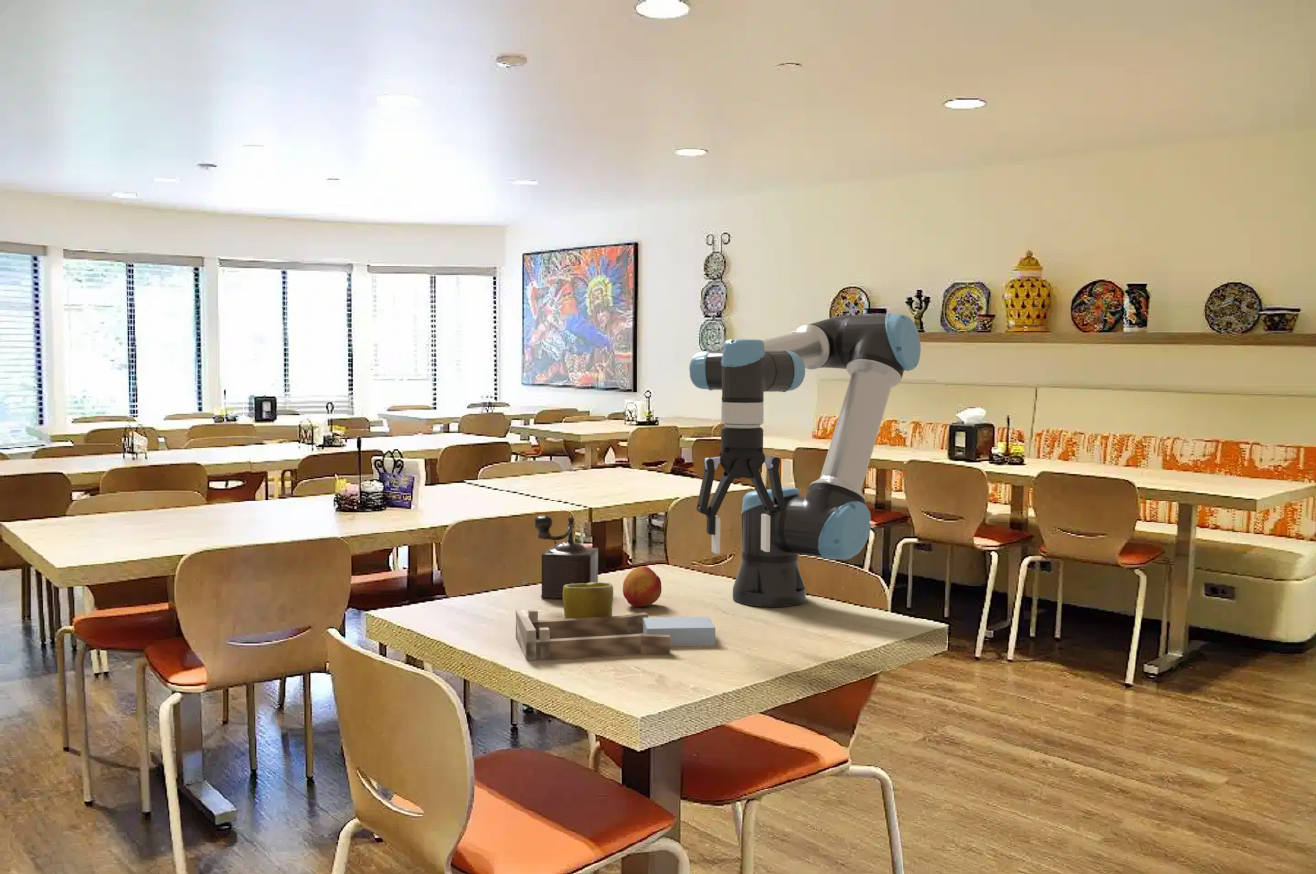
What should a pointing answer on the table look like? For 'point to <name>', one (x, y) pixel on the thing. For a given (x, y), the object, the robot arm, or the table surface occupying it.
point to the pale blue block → (682, 630)
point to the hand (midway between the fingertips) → (740, 551)
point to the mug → (587, 600)
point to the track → (585, 646)
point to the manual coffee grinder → (564, 560)
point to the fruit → (642, 587)
